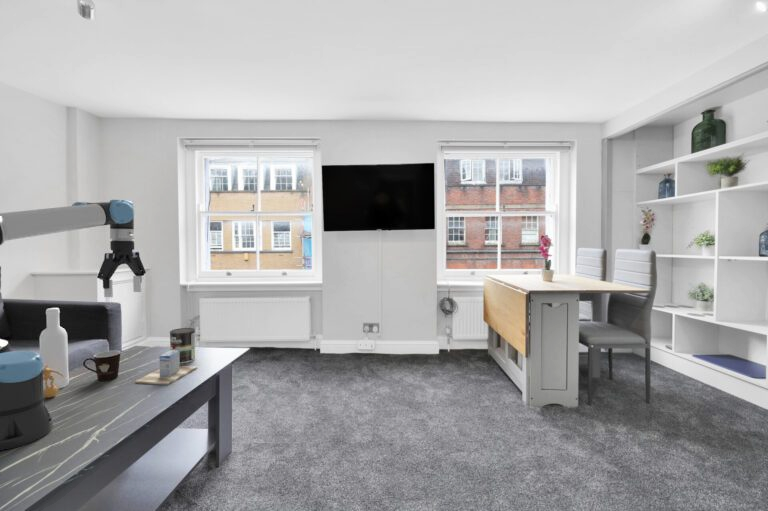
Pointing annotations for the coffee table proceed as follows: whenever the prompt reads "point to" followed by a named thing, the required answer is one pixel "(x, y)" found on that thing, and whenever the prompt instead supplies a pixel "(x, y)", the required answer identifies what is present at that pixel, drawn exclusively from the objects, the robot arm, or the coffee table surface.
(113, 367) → the coffee mug
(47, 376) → the figurine
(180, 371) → the birch board
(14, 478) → the coffee table surface
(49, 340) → the bottle
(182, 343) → the coffee can
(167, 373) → the medicine box
